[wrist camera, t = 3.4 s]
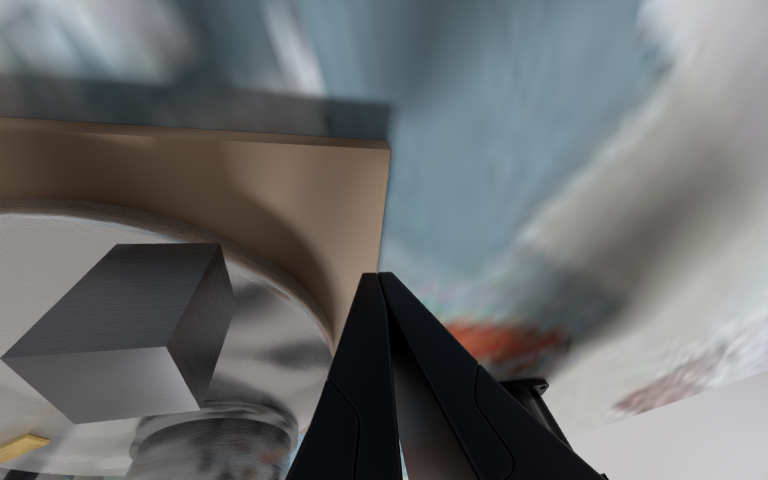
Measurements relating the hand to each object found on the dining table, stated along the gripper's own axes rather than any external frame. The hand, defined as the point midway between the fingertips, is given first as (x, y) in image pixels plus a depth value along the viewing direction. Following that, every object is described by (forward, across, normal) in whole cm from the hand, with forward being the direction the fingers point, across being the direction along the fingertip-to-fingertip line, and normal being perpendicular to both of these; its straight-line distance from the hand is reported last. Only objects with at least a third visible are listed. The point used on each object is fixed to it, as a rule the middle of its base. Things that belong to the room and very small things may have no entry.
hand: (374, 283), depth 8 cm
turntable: (+3, +9, +7) cm, 11 cm away
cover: (+1, +6, +11) cm, 13 cm away
